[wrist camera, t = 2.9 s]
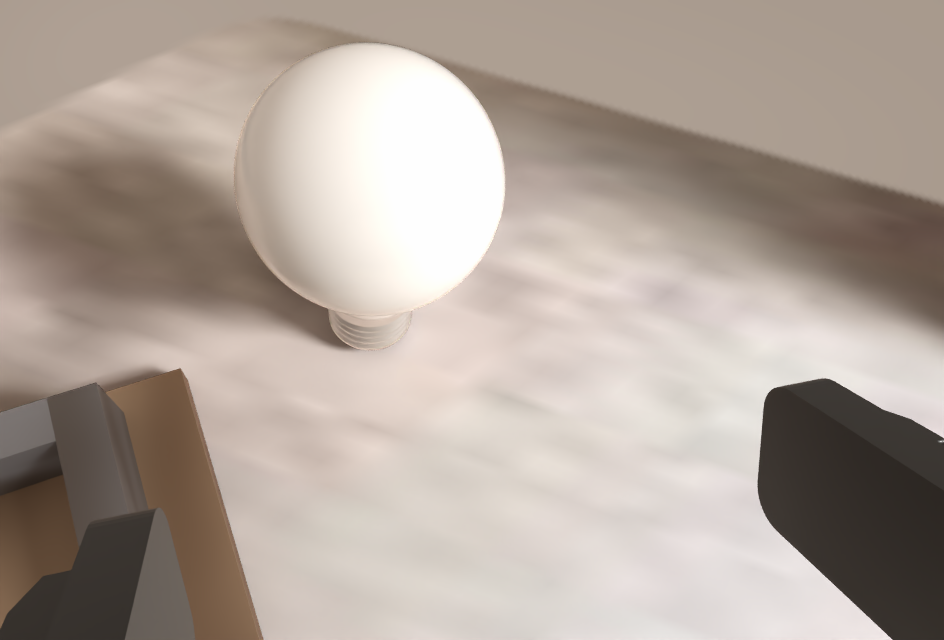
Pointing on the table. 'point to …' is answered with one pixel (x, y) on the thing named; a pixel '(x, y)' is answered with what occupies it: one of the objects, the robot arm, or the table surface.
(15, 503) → the bulb stand
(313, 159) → the lightbulb
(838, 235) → the table surface
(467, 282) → the table surface
